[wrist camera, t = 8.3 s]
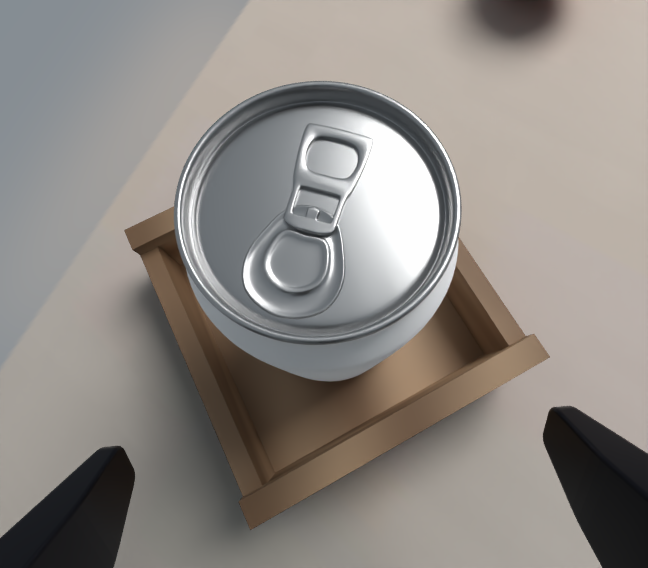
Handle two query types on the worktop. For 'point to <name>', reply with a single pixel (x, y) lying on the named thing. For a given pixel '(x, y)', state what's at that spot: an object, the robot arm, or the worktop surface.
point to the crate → (337, 396)
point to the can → (319, 227)
